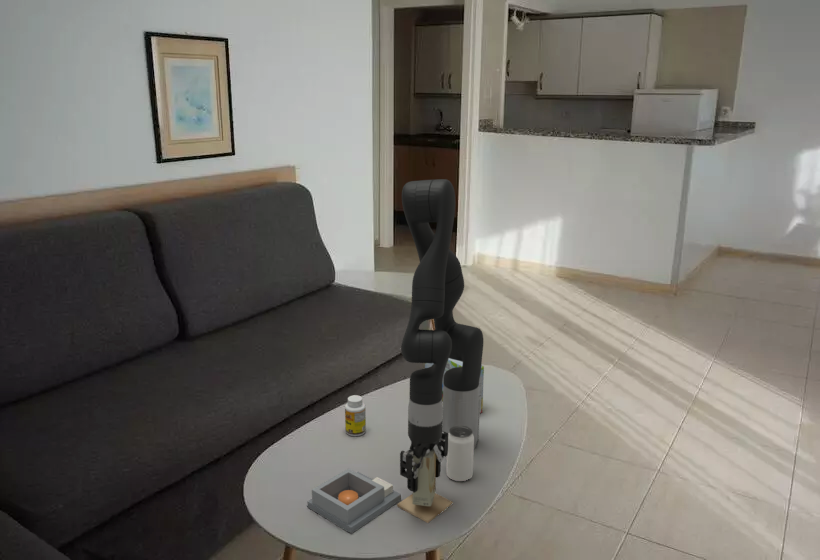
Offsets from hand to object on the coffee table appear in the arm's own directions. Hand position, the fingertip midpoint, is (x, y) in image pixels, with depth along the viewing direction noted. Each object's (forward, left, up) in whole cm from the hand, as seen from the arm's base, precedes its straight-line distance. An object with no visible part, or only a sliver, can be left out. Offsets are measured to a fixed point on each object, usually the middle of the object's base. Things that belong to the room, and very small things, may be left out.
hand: (424, 483), depth 150 cm
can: (-15, -1, -6) cm, 16 cm away
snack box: (-45, -26, -6) cm, 53 cm away
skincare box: (0, 0, -4) cm, 4 cm away
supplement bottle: (-13, -35, -6) cm, 38 cm away
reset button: (+12, -12, -6) cm, 18 cm away
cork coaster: (0, 0, -6) cm, 6 cm away
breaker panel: (+10, -12, -6) cm, 17 cm away
